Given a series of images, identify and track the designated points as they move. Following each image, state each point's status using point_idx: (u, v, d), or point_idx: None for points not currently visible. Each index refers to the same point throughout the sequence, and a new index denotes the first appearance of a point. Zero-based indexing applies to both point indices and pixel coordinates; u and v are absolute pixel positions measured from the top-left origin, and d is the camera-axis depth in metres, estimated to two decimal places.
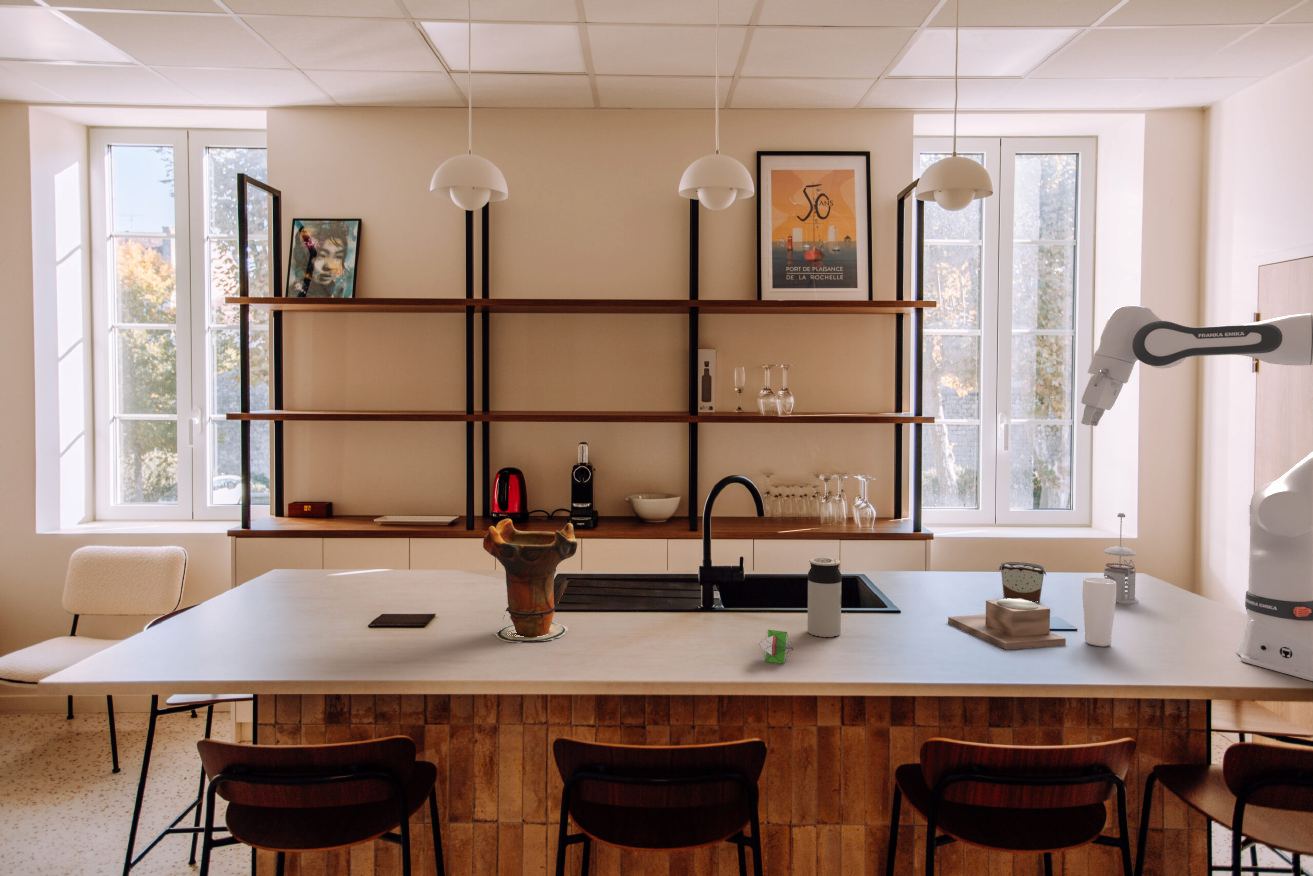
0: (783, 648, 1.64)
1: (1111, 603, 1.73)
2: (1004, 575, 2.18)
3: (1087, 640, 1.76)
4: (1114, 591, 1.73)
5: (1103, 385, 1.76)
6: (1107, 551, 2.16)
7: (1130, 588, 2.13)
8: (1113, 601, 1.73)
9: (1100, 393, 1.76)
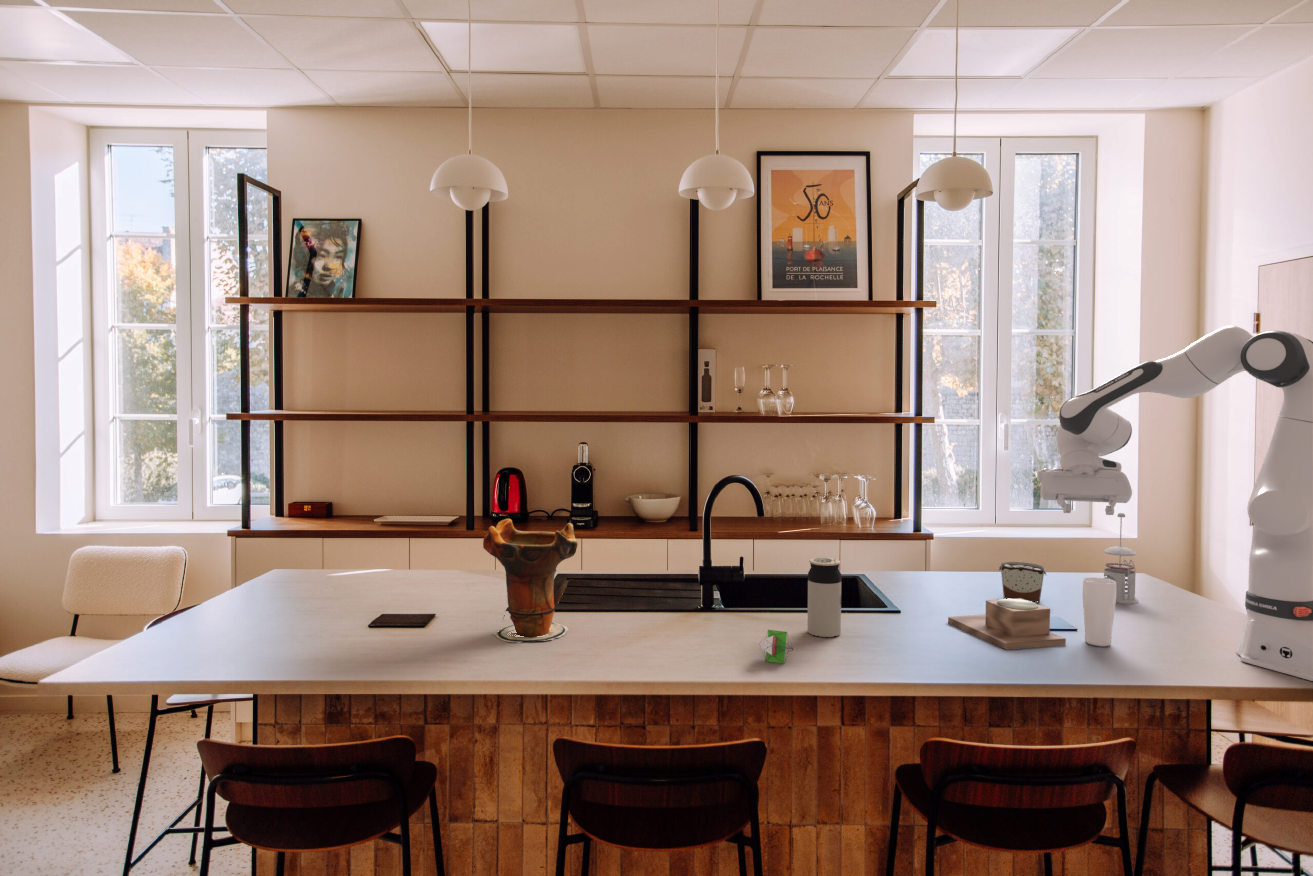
0: (783, 648, 1.64)
1: (1111, 603, 1.73)
2: (1004, 575, 2.18)
3: (1087, 640, 1.76)
4: (1114, 591, 1.73)
5: (1043, 476, 1.95)
6: (1107, 551, 2.16)
7: (1130, 588, 2.13)
8: (1113, 601, 1.73)
9: (1042, 482, 1.94)
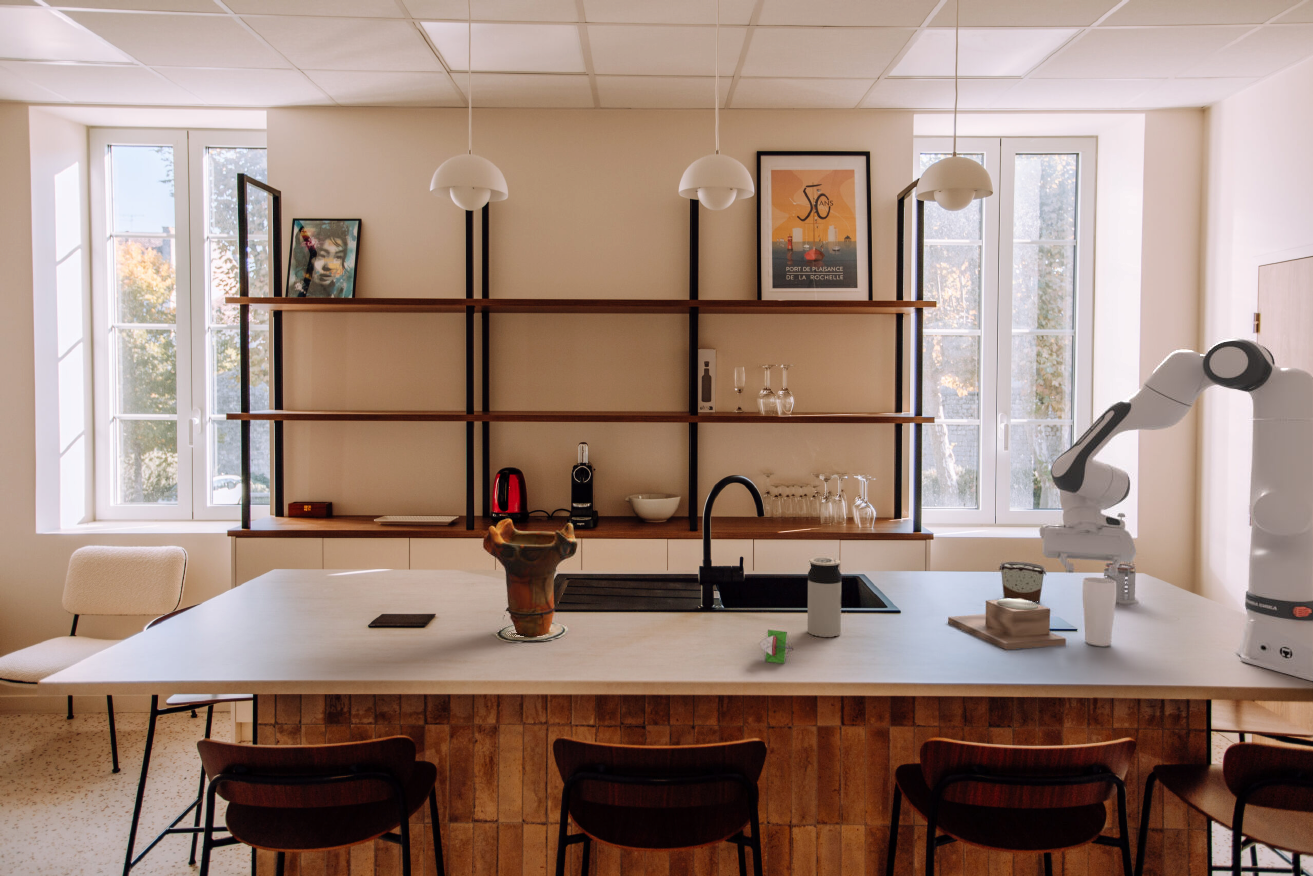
0: (783, 648, 1.64)
1: (1111, 603, 1.73)
2: (1004, 575, 2.18)
3: (1087, 640, 1.76)
4: (1114, 591, 1.73)
5: (1045, 533, 1.91)
6: None
7: (1130, 588, 2.13)
8: (1113, 601, 1.73)
9: (1044, 539, 1.90)
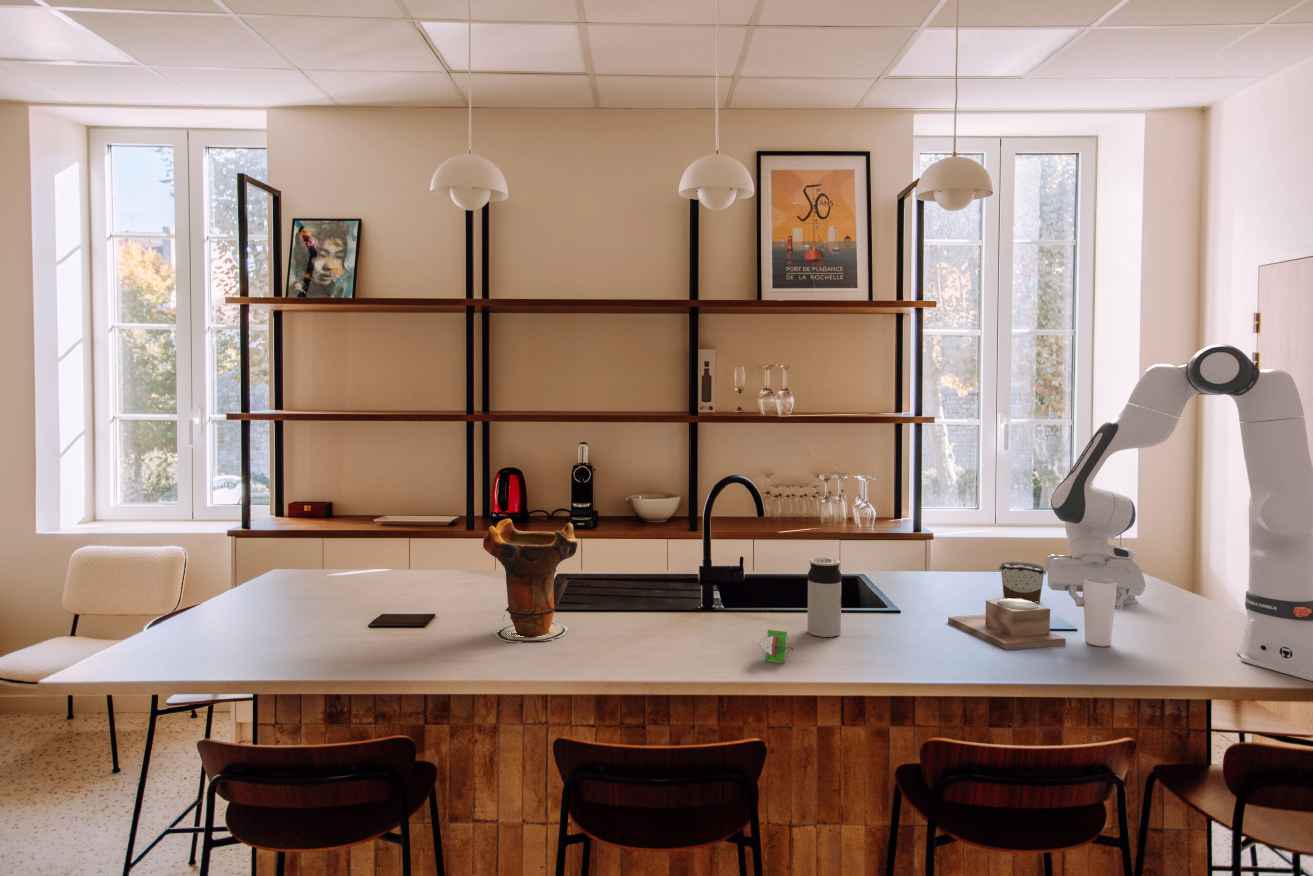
0: (783, 648, 1.64)
1: (1111, 603, 1.73)
2: (1004, 575, 2.18)
3: (1087, 640, 1.76)
4: (1114, 591, 1.73)
5: (1050, 564, 1.84)
6: None
7: None
8: (1113, 601, 1.73)
9: (1050, 571, 1.82)
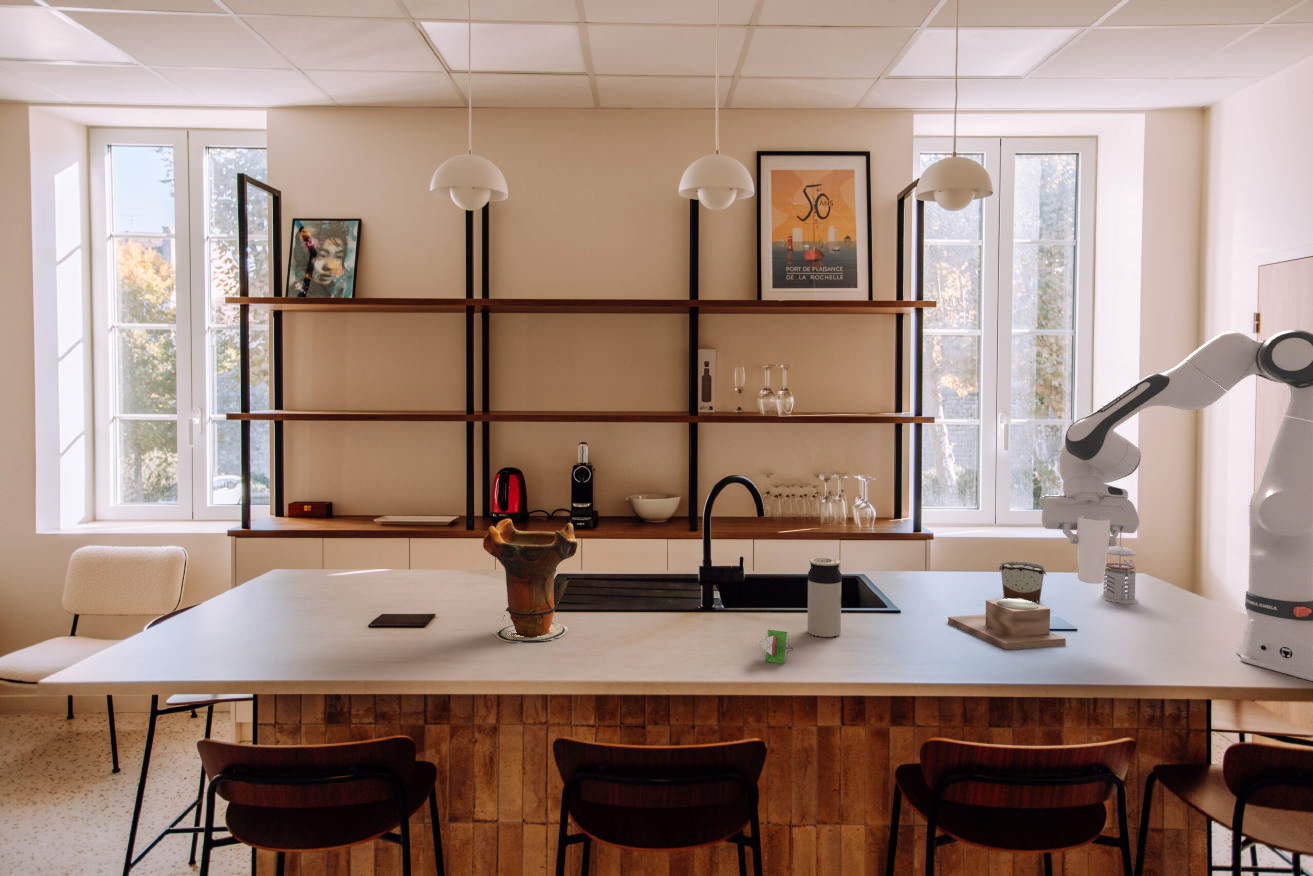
0: (783, 648, 1.64)
1: (1105, 540, 1.73)
2: (1004, 575, 2.18)
3: (1080, 577, 1.76)
4: (1108, 527, 1.73)
5: (1044, 503, 1.83)
6: None
7: (1130, 588, 2.13)
8: (1107, 538, 1.73)
9: (1044, 510, 1.82)
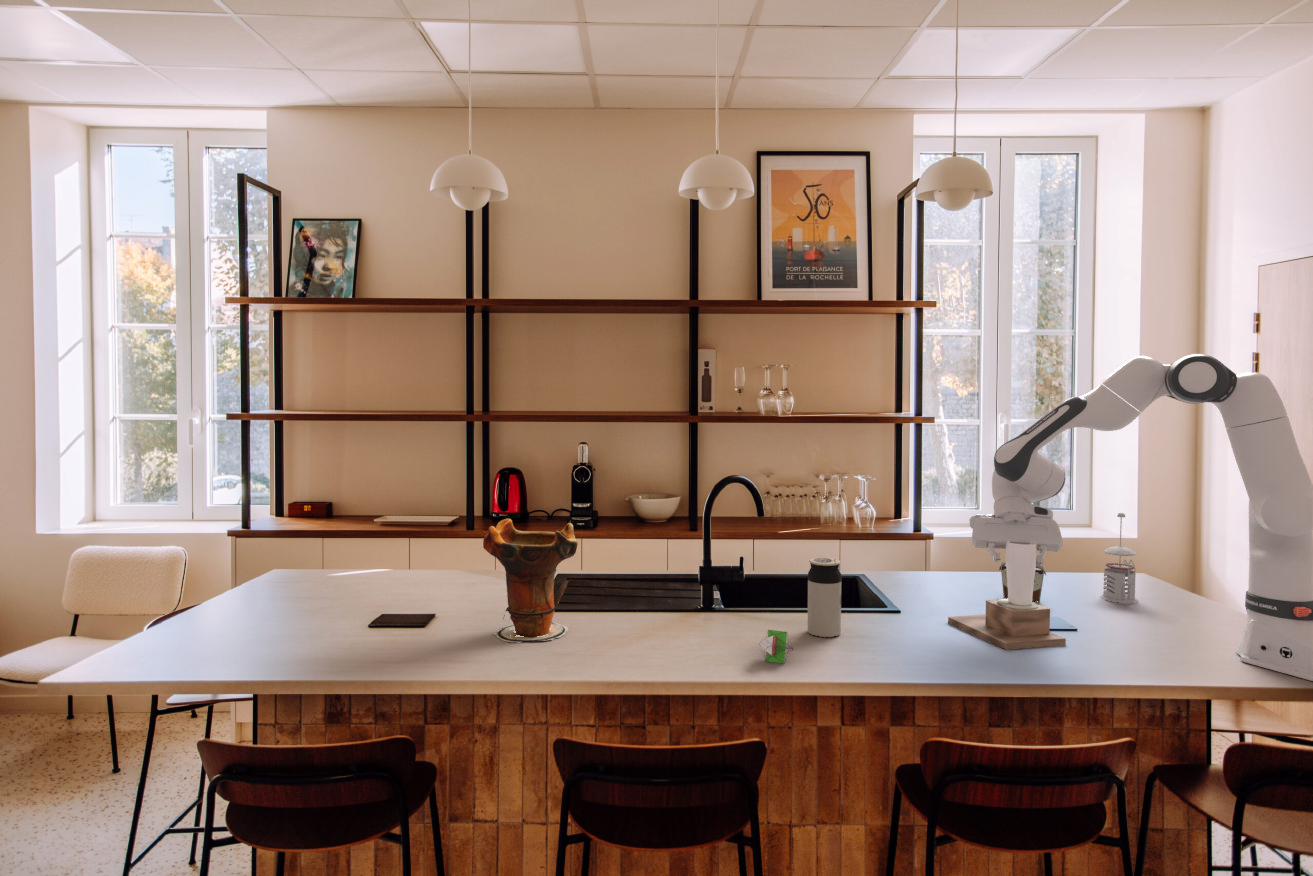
0: (783, 648, 1.64)
1: (1031, 563, 1.79)
2: (1004, 575, 2.18)
3: (1009, 600, 1.82)
4: (1034, 551, 1.79)
5: (974, 523, 1.90)
6: (1107, 551, 2.16)
7: (1130, 588, 2.13)
8: (1033, 561, 1.79)
9: (973, 529, 1.89)
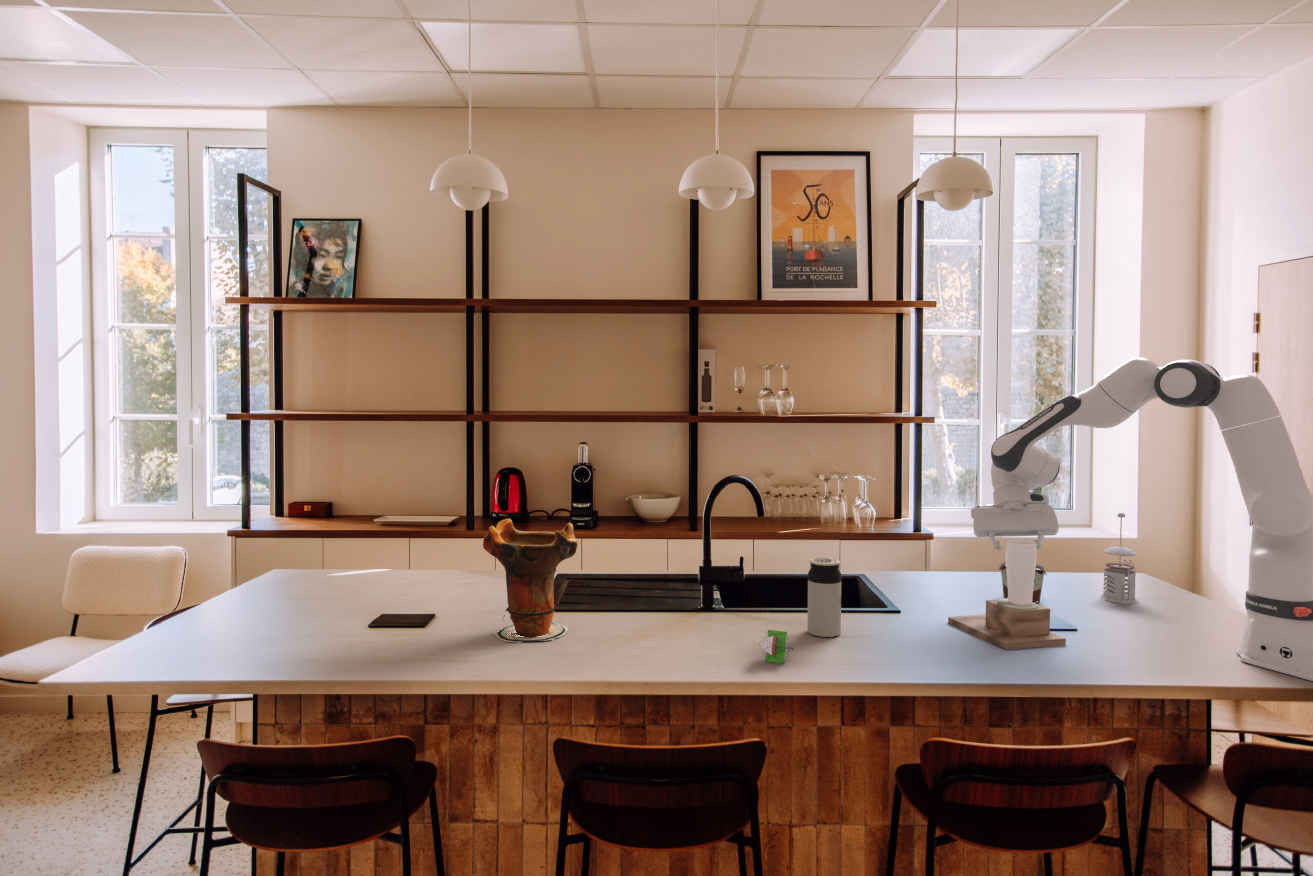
0: (783, 648, 1.64)
1: (1031, 563, 1.79)
2: (1004, 575, 2.18)
3: (1009, 600, 1.82)
4: (1034, 551, 1.79)
5: (974, 514, 2.02)
6: (1107, 551, 2.16)
7: (1130, 588, 2.13)
8: (1033, 561, 1.79)
9: (974, 520, 2.01)
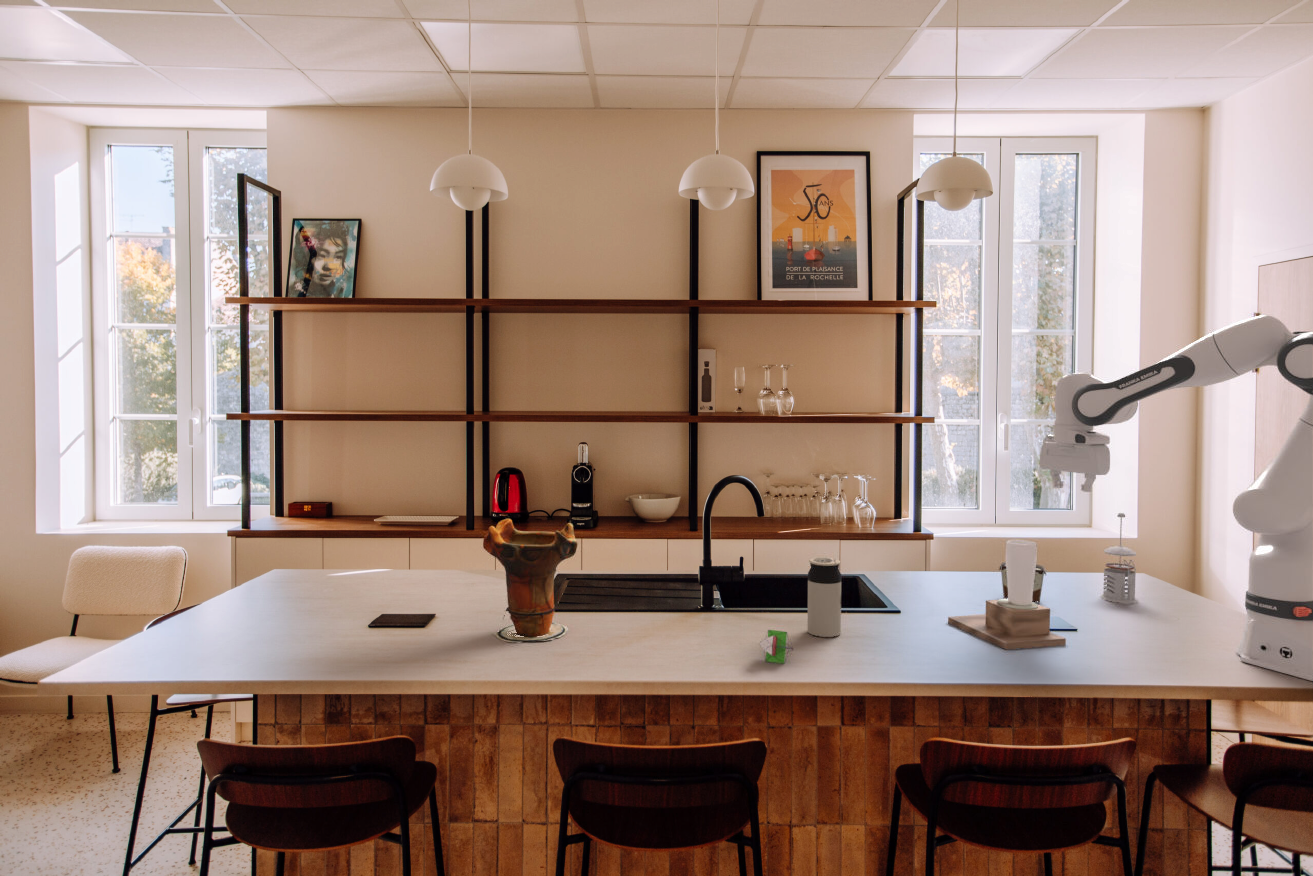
0: (783, 648, 1.64)
1: (1031, 563, 1.79)
2: (1004, 575, 2.18)
3: (1009, 600, 1.82)
4: (1034, 551, 1.79)
5: None
6: (1107, 551, 2.16)
7: (1130, 588, 2.13)
8: (1033, 561, 1.79)
9: (1040, 456, 2.03)
